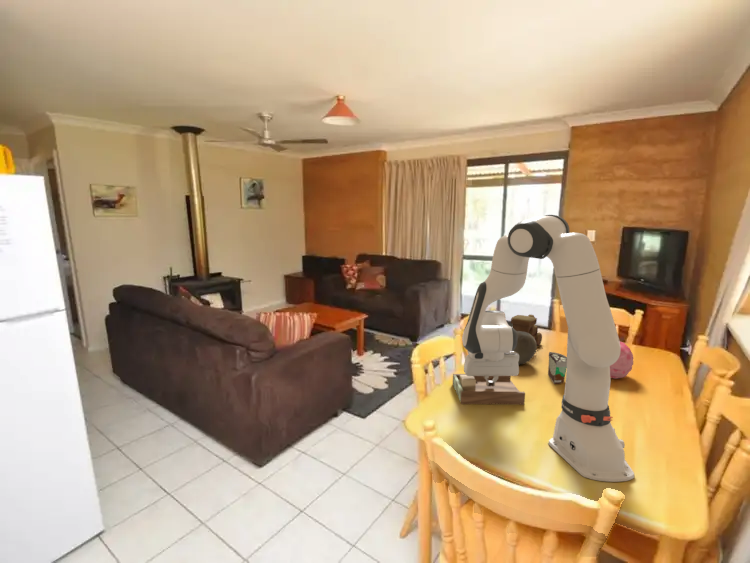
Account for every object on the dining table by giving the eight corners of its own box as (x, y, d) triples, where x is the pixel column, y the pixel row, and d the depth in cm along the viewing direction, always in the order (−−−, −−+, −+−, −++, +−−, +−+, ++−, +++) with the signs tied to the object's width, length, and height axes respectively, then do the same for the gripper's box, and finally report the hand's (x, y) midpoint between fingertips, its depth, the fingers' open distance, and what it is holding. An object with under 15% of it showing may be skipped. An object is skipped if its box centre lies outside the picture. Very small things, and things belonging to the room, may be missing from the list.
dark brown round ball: (532, 371, 161) (535, 339, 158) (499, 364, 168) (501, 333, 165) (537, 360, 172) (539, 330, 170) (506, 355, 180) (508, 326, 177)
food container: (571, 386, 146) (573, 363, 144) (555, 385, 147) (557, 362, 145) (562, 374, 158) (564, 352, 156) (547, 373, 159) (549, 351, 157)
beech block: (475, 390, 137) (475, 380, 137) (462, 390, 138) (462, 380, 137) (472, 384, 142) (472, 374, 142) (459, 384, 142) (459, 374, 142)
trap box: (524, 404, 132) (525, 392, 131) (461, 403, 132) (461, 392, 132) (509, 384, 148) (509, 374, 147) (452, 384, 148) (453, 373, 147)
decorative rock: (595, 351, 169) (594, 330, 161) (632, 354, 161) (633, 332, 153) (593, 385, 158) (591, 364, 150) (633, 390, 150) (634, 368, 142)
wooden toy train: (529, 353, 182) (531, 321, 179) (507, 348, 189) (509, 317, 186) (543, 343, 196) (545, 314, 193) (522, 339, 204) (524, 310, 201)
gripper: (516, 348, 140) (514, 382, 142) (463, 348, 140) (462, 382, 142) (522, 354, 134) (520, 389, 136) (467, 354, 134) (466, 389, 136)
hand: (490, 385), depth 139 cm, fingers closed
